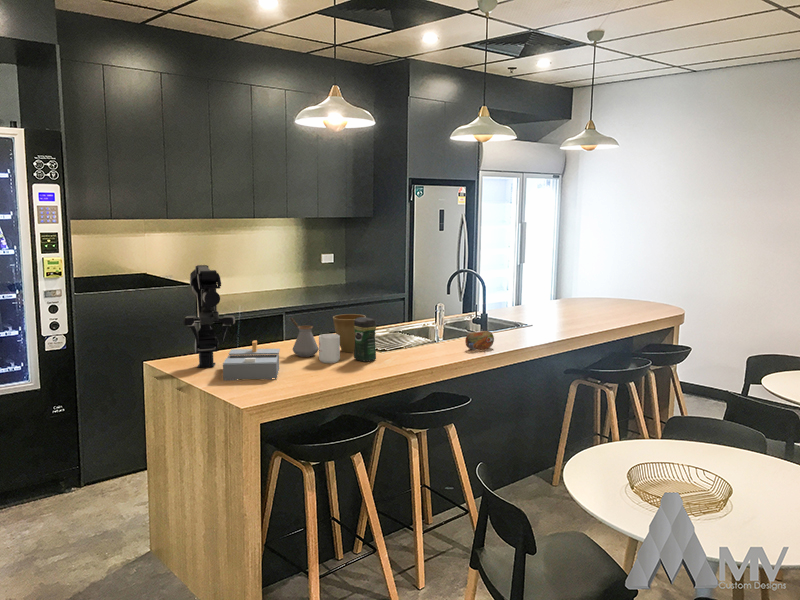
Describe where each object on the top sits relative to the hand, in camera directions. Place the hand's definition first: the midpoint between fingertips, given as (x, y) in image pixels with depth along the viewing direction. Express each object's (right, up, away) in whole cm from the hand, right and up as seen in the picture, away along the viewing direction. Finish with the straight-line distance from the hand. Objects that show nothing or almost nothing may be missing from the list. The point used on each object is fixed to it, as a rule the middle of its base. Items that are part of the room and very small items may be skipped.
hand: (210, 342), depth 253 cm
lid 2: (+16, -7, -2) cm, 18 cm away
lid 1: (+14, -5, +14) cm, 20 cm away
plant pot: (+51, -7, +46) cm, 69 cm away
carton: (+16, -13, +3) cm, 20 cm away
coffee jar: (+59, -10, +29) cm, 66 cm away
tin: (+111, -7, +53) cm, 124 cm away
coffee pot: (+29, -8, +40) cm, 50 cm away
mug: (+43, -10, +27) cm, 52 cm away
